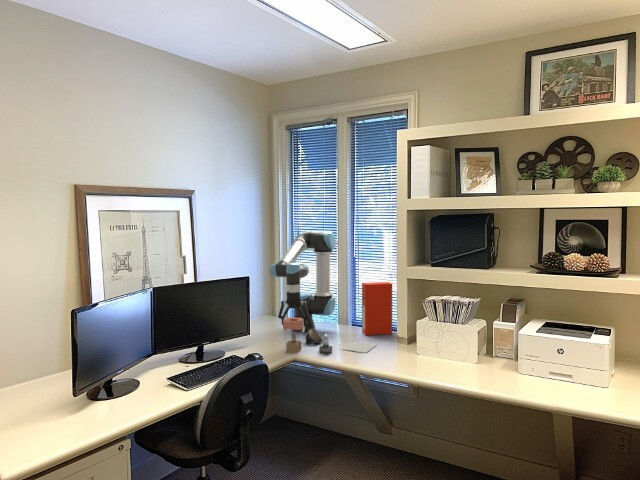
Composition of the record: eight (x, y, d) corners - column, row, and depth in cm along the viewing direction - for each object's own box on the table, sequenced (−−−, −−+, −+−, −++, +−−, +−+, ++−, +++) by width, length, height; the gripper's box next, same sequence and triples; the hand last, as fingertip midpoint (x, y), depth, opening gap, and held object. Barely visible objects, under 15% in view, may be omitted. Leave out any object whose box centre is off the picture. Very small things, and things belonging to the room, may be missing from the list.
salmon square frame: (287, 324, 272) (287, 317, 271) (304, 324, 270) (304, 318, 269) (282, 329, 262) (282, 321, 261) (300, 329, 260) (300, 322, 260)
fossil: (322, 344, 276) (314, 329, 275) (308, 352, 277) (300, 337, 276) (323, 339, 287) (315, 324, 286) (310, 345, 287) (302, 331, 287)
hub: (320, 350, 267) (320, 332, 266) (332, 350, 266) (332, 333, 265) (318, 354, 260) (318, 336, 259) (330, 354, 259) (330, 336, 258)
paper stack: (392, 348, 272) (392, 347, 272) (376, 360, 250) (376, 359, 250) (354, 343, 282) (354, 341, 282) (336, 354, 260) (336, 353, 260)
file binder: (361, 332, 305) (362, 282, 303) (387, 331, 308) (388, 281, 306) (365, 335, 297) (365, 284, 295) (392, 334, 300) (392, 283, 298)
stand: (289, 348, 270) (289, 331, 270) (301, 349, 269) (301, 332, 268) (286, 352, 263) (286, 334, 263) (298, 353, 262) (298, 335, 262)
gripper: (271, 292, 262) (272, 331, 264) (312, 293, 258) (312, 333, 260) (275, 289, 270) (276, 328, 272) (314, 290, 266) (315, 329, 268)
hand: (294, 330), depth 266 cm, fingers closed on salmon square frame, 10 cm apart
